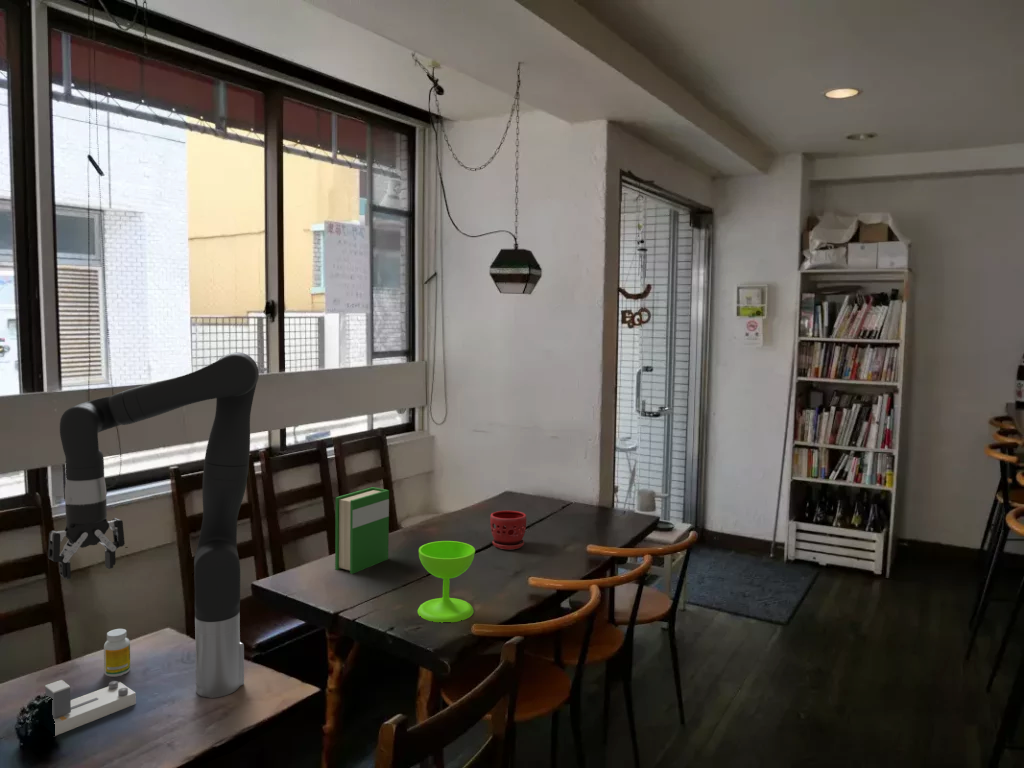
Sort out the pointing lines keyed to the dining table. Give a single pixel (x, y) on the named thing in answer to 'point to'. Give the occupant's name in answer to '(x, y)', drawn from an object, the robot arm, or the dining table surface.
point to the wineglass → (446, 579)
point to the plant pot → (508, 529)
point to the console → (95, 706)
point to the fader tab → (59, 697)
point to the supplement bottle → (116, 653)
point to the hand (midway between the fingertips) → (88, 573)
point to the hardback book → (361, 529)
